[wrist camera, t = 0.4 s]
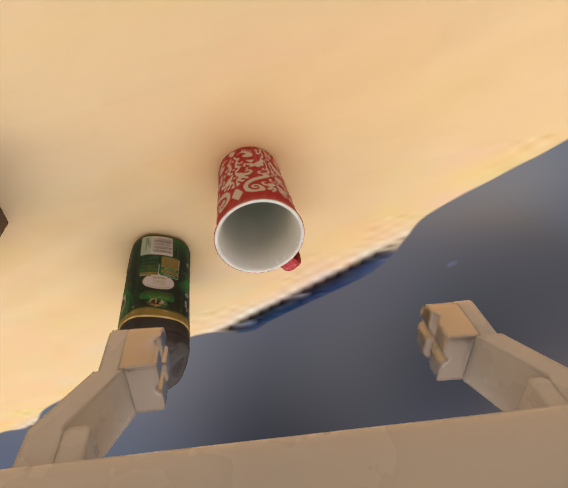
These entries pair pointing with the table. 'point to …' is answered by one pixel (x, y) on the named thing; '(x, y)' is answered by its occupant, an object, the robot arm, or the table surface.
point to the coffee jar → (160, 296)
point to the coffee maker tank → (2, 222)
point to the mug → (256, 214)
